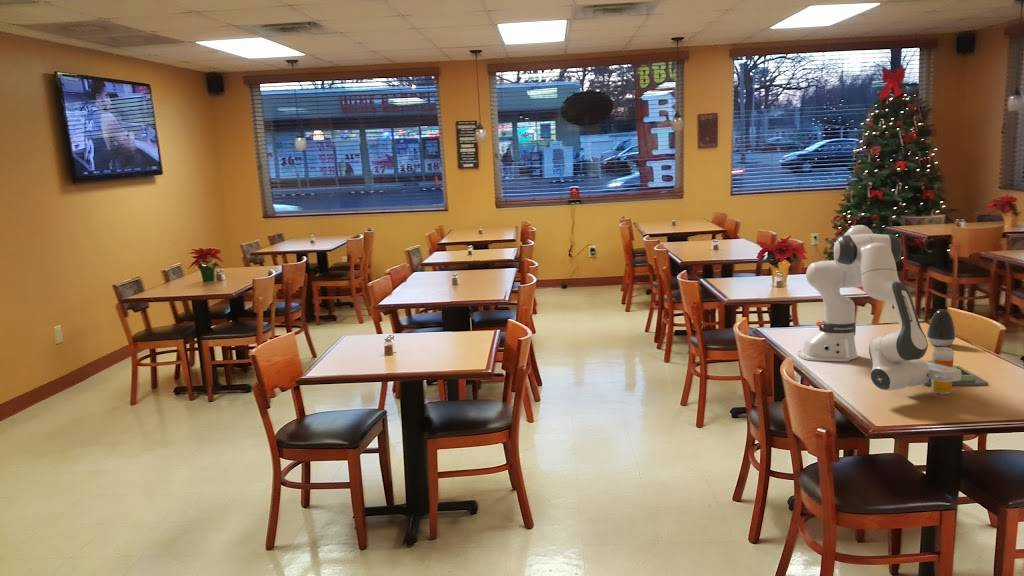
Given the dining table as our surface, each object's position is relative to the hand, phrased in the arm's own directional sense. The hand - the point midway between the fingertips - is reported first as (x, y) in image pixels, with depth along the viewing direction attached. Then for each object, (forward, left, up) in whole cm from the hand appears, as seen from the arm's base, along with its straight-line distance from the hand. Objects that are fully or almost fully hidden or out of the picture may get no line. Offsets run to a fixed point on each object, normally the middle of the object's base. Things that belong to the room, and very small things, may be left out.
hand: (944, 365), depth 246 cm
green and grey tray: (+7, +15, -9) cm, 19 cm away
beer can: (-1, 0, -9) cm, 9 cm away
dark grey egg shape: (+25, +63, -9) cm, 68 cm away
